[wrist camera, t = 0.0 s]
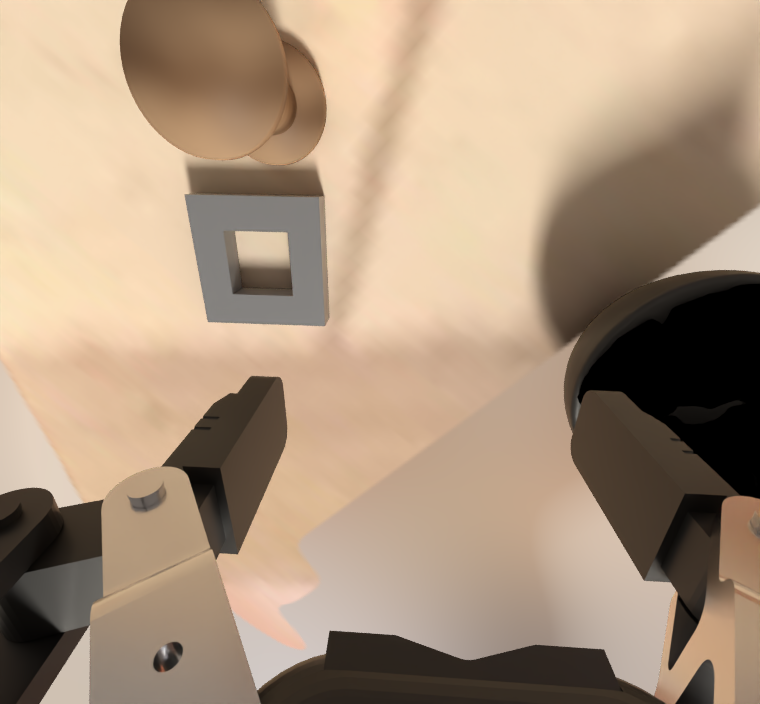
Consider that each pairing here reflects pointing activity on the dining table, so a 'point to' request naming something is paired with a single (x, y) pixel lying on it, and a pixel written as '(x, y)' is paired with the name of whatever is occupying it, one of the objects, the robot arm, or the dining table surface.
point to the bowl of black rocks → (684, 365)
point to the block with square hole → (221, 265)
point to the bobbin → (221, 80)
